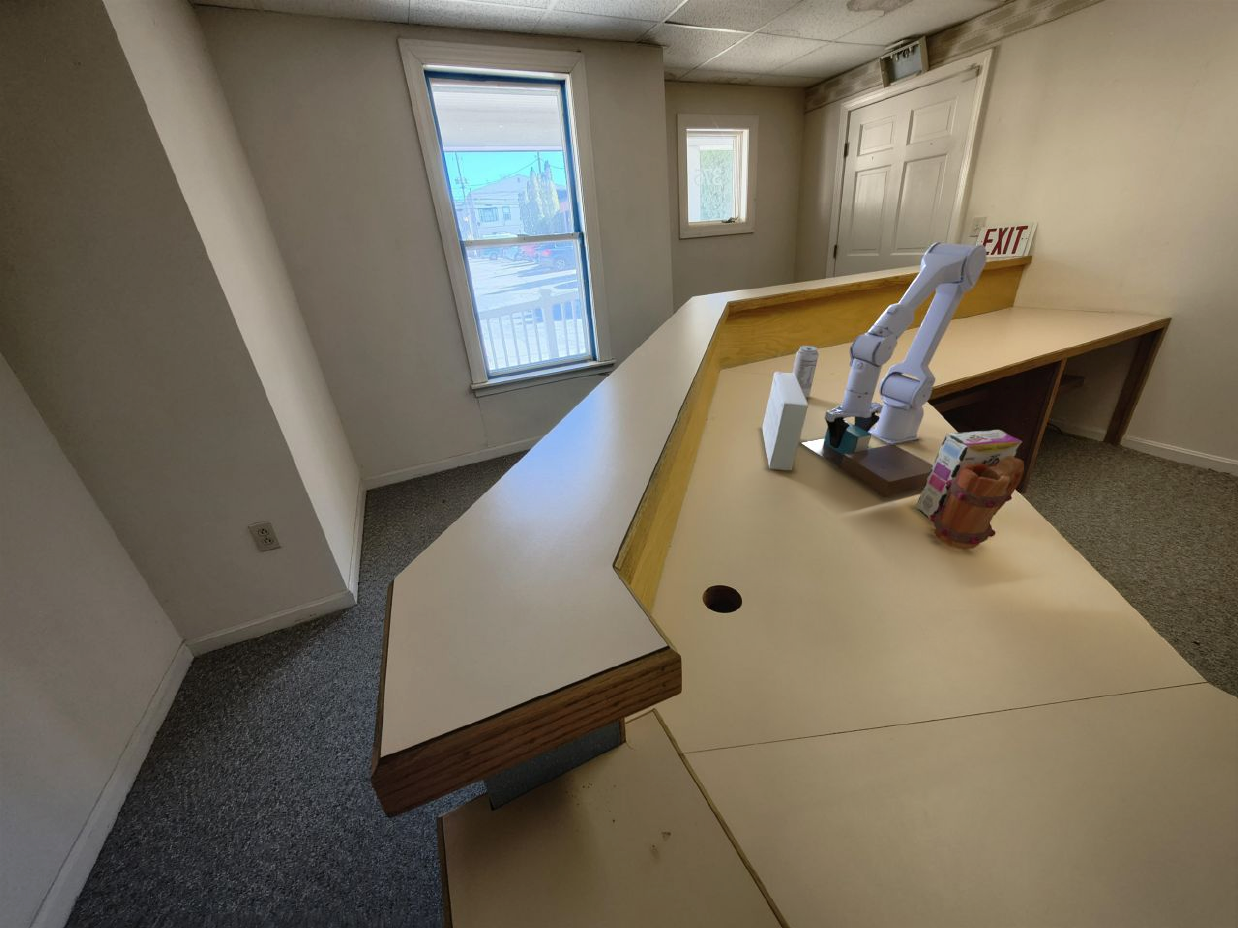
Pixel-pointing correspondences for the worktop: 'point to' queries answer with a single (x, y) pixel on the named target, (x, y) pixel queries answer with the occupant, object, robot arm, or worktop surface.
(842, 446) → the teal box
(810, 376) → the energy drink can
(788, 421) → the skincare box
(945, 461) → the candy bar box
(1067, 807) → the worktop surface
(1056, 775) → the worktop surface
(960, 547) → the mug
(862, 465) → the step shelf
